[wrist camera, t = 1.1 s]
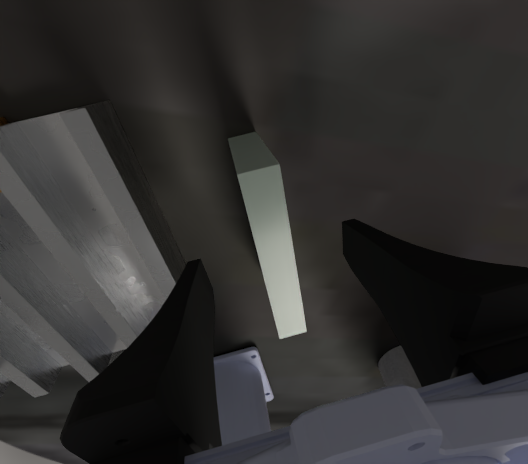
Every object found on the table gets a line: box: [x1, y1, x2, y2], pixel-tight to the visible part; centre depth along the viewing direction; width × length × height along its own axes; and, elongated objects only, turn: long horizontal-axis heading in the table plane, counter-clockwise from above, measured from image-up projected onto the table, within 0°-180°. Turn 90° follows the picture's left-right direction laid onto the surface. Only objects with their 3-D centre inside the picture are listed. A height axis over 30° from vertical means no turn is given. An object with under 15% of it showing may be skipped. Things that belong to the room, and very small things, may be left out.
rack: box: [0, 100, 186, 398], centre depth 14 cm, size 16×16×7 cm
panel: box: [228, 132, 307, 339], centre depth 15 cm, size 10×2×6 cm, turn 11°
